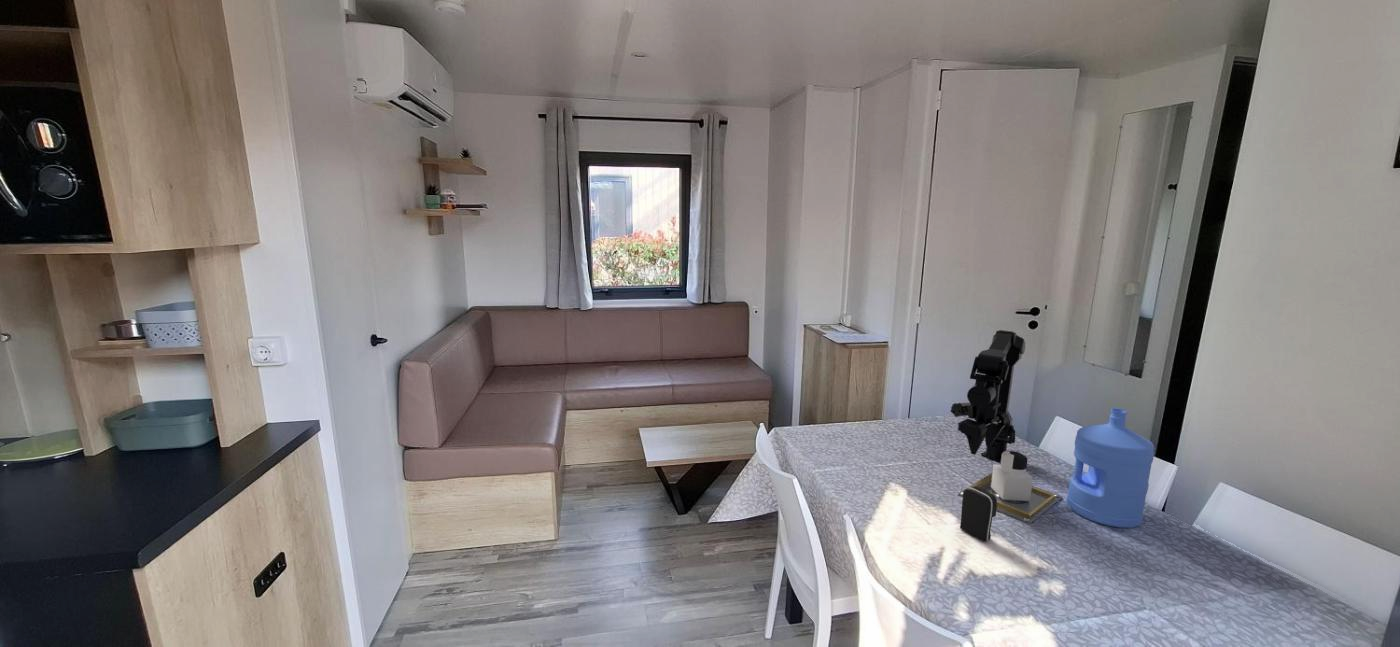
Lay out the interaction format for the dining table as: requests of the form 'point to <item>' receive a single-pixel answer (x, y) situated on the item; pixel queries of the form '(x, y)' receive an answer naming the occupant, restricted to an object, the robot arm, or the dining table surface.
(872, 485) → the dining table surface
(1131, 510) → the water jug
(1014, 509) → the lid
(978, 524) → the battery charger
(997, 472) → the medicine bottle
